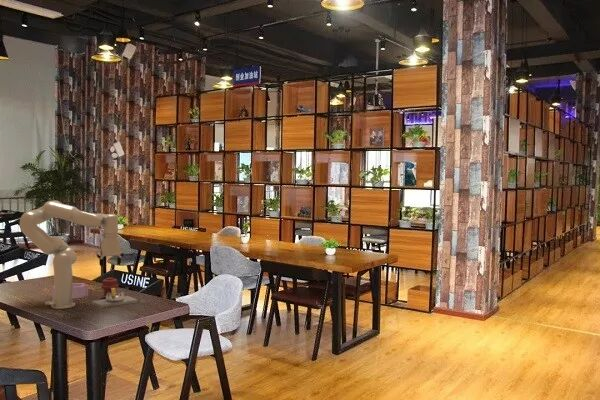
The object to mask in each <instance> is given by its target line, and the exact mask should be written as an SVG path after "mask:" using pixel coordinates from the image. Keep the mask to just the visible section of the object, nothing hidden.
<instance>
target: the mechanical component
mask: <svg viewBox="0 0 600 400" xmlns="http://www.w3.org/2000/svg"><path fill="white" fill-rule="evenodd" d="M119 285H120V284H118V279H117V278H114V277H107V278H103V280H102V284H101V285H100V287H101V289H103V297H105V298H106V294H107V293H109V292H110V293H111V288H115V292H117V288H119Z"/></svg>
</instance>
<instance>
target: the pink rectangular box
mask: <svg viewBox="0 0 600 400" xmlns="http://www.w3.org/2000/svg"><path fill="white" fill-rule="evenodd" d="M88 296H89V284H86V283H85V282H82V283H81V282H77V283H76V282H75V283H73V299H80V298H84V297H88ZM51 299H52V300H53V299H54V285H53V286H51Z"/></svg>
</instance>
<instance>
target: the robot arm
mask: <svg viewBox="0 0 600 400" xmlns="http://www.w3.org/2000/svg"><path fill="white" fill-rule="evenodd" d="M53 218H57V219H60V220H65V221H69V222H71V223H74V224H77V225H80V226H83V227H87V228H88V227H89V228H92V229H93V228H94V229H96V228H98V227H103V233H102V234H100V236H101V237H102V239H101V245H100V248H99V249H97V250H95V251H94V254H95V256H96V257H97V258H98V259H99V260H98V261H99V264H98V265H99V266H100V267H103V266H104V257H113V256H116V257H117V258H116V264H117V266H120V265H121V263H122V257H124V255H125V253H126V250H125V249H124V248H121V241H120V238H119V237H118V234H119V233H118V231H119V230H118V229H119V216H118V215H117V214H116V213H115V214H114V213H108V214H106V213H105V214H104V213H101V212H100V213H94V214H93V213H90V212H86V211H82V210H80V209H78V208H77V207H76V206H74V205H69V204H64V203H62V202H61V201H59V200H55V199H54V200H48V201H46V202H45V203H44V204H43V206H41V207H40V206H39V207H38V208H36V209H33V210H27V211H26V212H24V213H23V214H22V215H21V217H20V219H19V228H20V230H21V232H22V233H23V234H24V236H26V238H27V239H29V240H30V241H31V243H32V244H33V245H35V246H36V247H37V248H38V249H39V250H40V251H42V253H44V254H45V255H53V256H54V257H53V259H52V265H53V266H52V267H53V273H54V274H53V275H54V277H53V279H54V282H53V283H54V284H53V286H54V299H53V298H52V299H51V300H49V301H45V302H44V305H45V306H47V305H48V306H51V309H55V310H58V309H59V310H63V309H70V308H73V307H76V303H75V302H74V301H73V299H74V298H73V280H74V279H73V268H72V266H73V264H75V263H76V261H77V253H76V252H75V250H74V249H72V248H71V247H70V246H69V244H67V243H66V242H65V241H64V240H63V239H61V238H60V237H59V236H51V235H49V234H48V233H47V232H46V231H45V230H44V229H43V228H41V227H39V226H38V225H40V224H43V223H45V222H46V221H48V220H51V219H53ZM99 253H100V254H99Z"/></svg>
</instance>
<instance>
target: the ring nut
mask: <svg viewBox="0 0 600 400" xmlns="http://www.w3.org/2000/svg"><path fill="white" fill-rule="evenodd" d="M124 296H125V292H123V291H120V292H119V293H118V291H116V292H115V288H111V293H110V292H109V293H107V294H106V297H105V299H106V301H107V302H120V301H123V300H124Z"/></svg>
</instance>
